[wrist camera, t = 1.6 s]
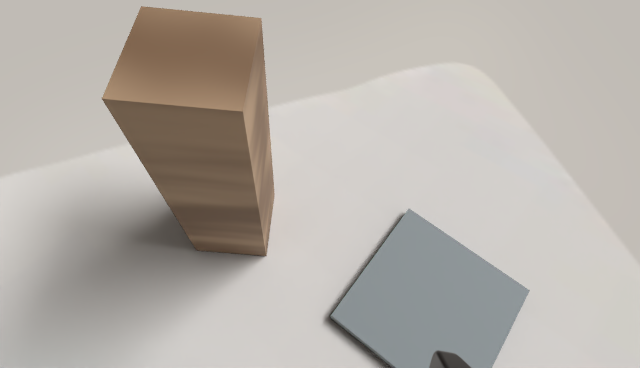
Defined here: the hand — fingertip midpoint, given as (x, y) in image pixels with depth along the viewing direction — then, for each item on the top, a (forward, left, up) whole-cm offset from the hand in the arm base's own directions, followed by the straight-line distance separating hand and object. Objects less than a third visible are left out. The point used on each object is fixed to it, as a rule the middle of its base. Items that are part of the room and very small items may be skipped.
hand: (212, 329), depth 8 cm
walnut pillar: (+4, +7, -14) cm, 16 cm away
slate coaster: (+9, -4, -14) cm, 17 cm away
